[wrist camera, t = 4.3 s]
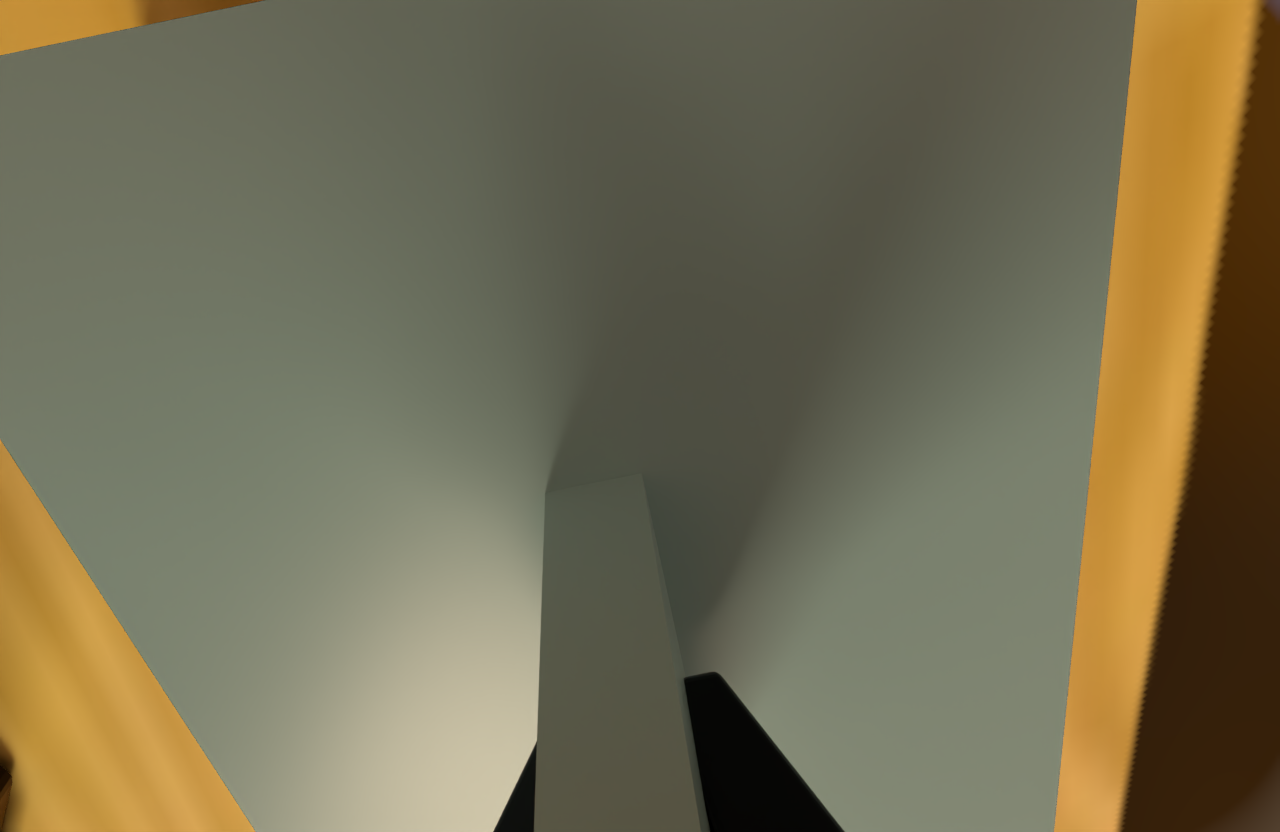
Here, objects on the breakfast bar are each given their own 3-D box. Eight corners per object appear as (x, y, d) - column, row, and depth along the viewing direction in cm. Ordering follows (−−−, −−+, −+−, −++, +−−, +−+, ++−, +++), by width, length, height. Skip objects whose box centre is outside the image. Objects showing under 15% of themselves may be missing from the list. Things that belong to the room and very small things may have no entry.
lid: (996, 831, 14) (1229, 1284, 9) (414, 946, 14) (336, 1453, 9) (1042, -152, 7) (2022, -440, 2) (-73, 80, 7) (-1317, 258, 3)
